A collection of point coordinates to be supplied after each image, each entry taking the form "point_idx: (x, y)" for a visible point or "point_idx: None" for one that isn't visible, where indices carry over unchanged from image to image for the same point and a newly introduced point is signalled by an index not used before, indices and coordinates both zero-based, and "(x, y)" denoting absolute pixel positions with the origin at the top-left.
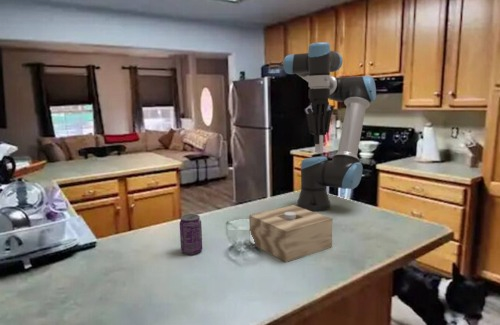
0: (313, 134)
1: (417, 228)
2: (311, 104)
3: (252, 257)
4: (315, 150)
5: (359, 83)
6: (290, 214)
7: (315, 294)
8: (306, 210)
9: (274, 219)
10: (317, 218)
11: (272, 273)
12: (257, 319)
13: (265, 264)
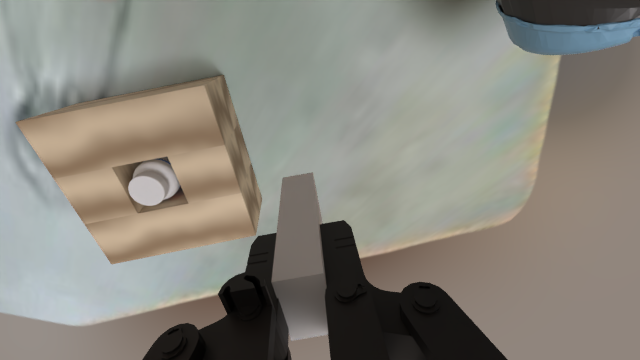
0: (219, 327)
1: (483, 188)
2: None
3: None
4: (282, 188)
5: None
6: (145, 200)
7: (158, 304)
8: (222, 157)
9: (99, 189)
10: (220, 223)
11: None
12: (67, 323)
13: None
